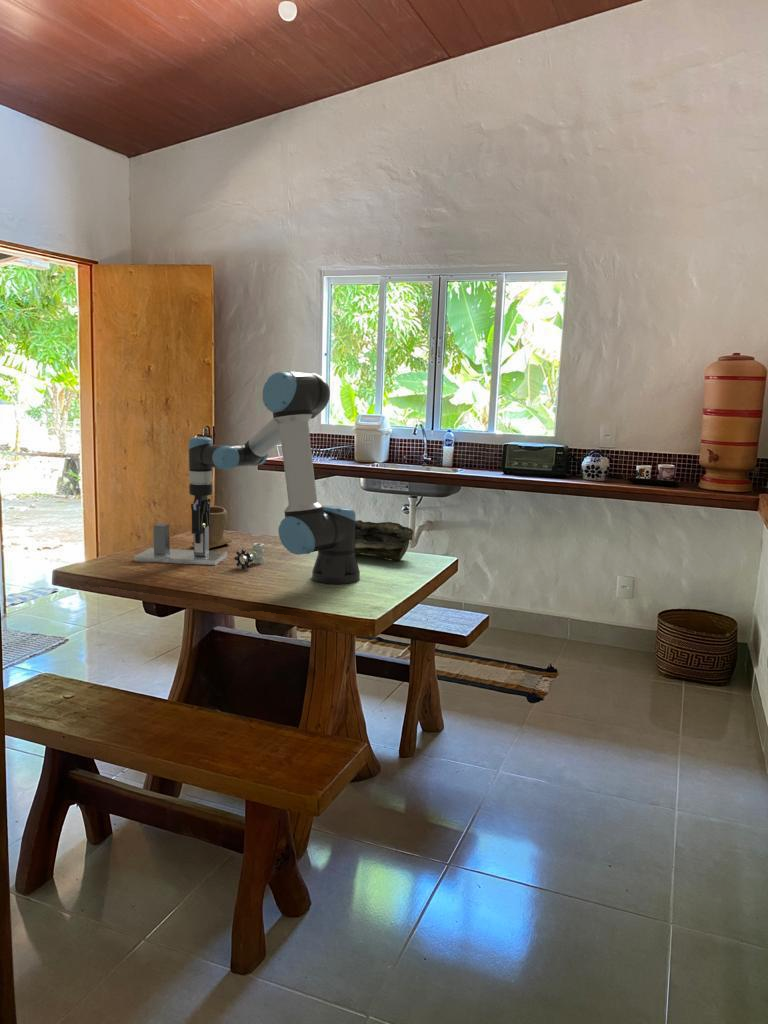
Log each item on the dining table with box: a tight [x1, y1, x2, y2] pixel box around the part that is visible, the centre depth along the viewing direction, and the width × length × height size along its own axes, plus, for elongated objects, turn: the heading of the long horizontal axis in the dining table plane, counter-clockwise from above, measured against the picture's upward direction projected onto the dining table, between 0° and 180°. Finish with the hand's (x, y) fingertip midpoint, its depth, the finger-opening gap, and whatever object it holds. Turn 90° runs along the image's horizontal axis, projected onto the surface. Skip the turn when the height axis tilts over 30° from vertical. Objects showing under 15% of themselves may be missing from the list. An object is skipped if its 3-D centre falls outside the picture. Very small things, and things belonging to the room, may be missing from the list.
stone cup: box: [191, 505, 233, 549], centre depth 280 cm, size 15×12×15 cm
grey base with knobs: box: [133, 523, 228, 566], centre depth 260 cm, size 14×28×12 cm, turn 85°
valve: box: [233, 542, 265, 570], centre depth 254 cm, size 7×7×12 cm
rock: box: [355, 519, 414, 562], centre depth 270 cm, size 28×13×15 cm
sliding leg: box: [193, 523, 210, 556], centre depth 259 cm, size 4×4×11 cm
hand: (201, 550), depth 260 cm, fingers open, 5 cm apart
